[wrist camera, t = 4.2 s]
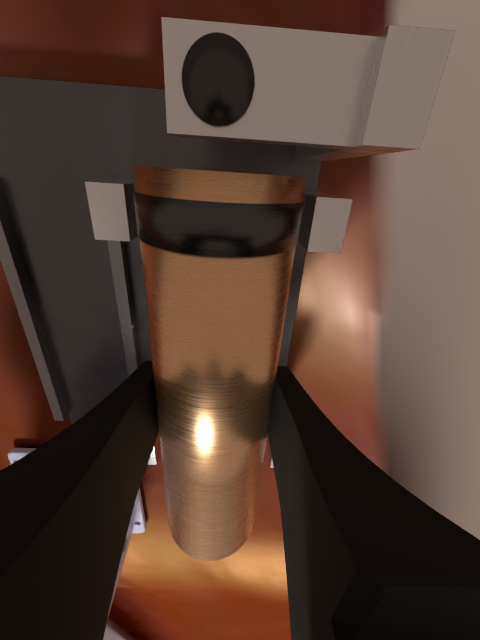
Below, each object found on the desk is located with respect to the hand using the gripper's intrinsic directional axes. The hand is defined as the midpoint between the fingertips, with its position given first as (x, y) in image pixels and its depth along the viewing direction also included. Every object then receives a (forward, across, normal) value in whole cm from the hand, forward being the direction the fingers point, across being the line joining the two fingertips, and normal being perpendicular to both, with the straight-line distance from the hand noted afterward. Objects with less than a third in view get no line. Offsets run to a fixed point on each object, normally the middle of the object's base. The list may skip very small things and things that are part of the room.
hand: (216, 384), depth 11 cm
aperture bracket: (+3, -1, -9) cm, 9 cm away
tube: (+1, 0, 0) cm, 1 cm away
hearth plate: (+4, +2, -2) cm, 5 cm away
